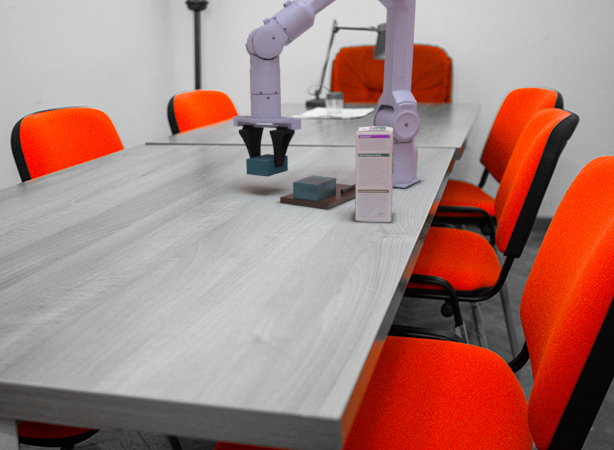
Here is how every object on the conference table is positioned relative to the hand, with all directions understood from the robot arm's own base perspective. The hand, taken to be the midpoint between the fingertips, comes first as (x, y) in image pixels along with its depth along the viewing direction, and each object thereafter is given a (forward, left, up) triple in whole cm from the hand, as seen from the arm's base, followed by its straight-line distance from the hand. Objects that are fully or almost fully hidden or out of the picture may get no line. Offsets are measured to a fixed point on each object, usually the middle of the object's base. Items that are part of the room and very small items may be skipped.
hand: (267, 165), depth 111 cm
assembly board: (-2, +12, -5) cm, 13 cm away
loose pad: (0, 0, -1) cm, 1 cm away
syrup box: (+7, +26, -6) cm, 27 cm away
